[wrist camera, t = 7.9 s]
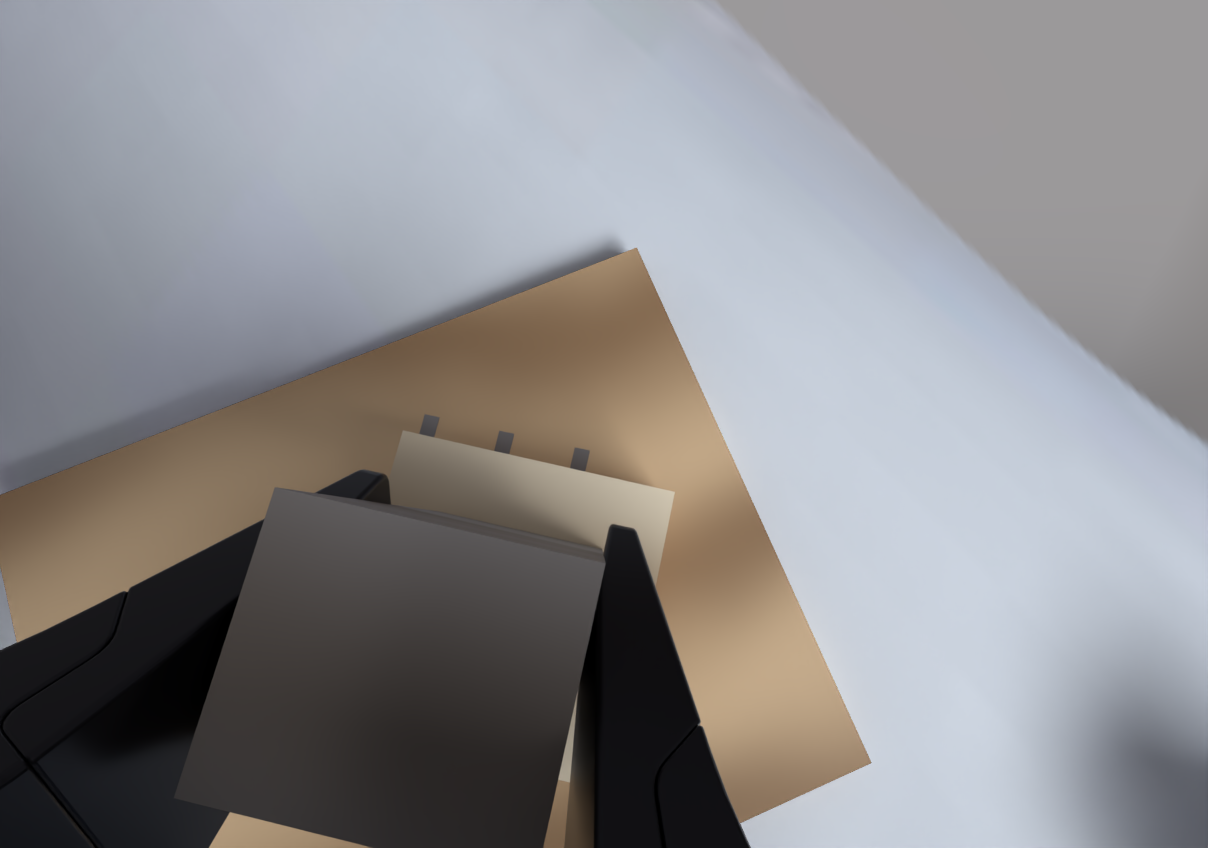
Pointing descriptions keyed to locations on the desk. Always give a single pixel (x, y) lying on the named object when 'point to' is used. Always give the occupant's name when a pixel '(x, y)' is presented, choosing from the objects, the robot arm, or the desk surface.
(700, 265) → the desk surface
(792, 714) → the oak board
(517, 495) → the grey block on base
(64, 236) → the desk surface
